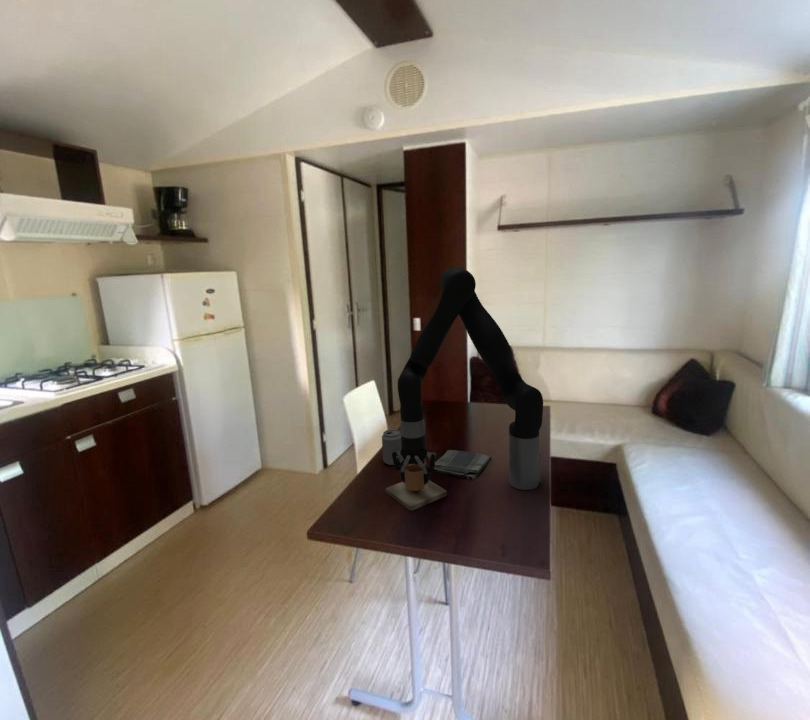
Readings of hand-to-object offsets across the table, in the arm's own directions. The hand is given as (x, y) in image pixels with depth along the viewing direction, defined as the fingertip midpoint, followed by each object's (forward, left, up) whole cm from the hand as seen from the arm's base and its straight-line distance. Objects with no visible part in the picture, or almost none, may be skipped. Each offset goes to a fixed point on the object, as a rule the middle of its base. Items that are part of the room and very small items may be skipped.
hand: (415, 482), depth 135 cm
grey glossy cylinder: (0, 0, -3) cm, 3 cm away
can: (-7, -24, -4) cm, 26 cm away
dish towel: (-24, -6, -5) cm, 25 cm away
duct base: (0, 0, -4) cm, 4 cm away
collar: (0, 0, -1) cm, 1 cm away
